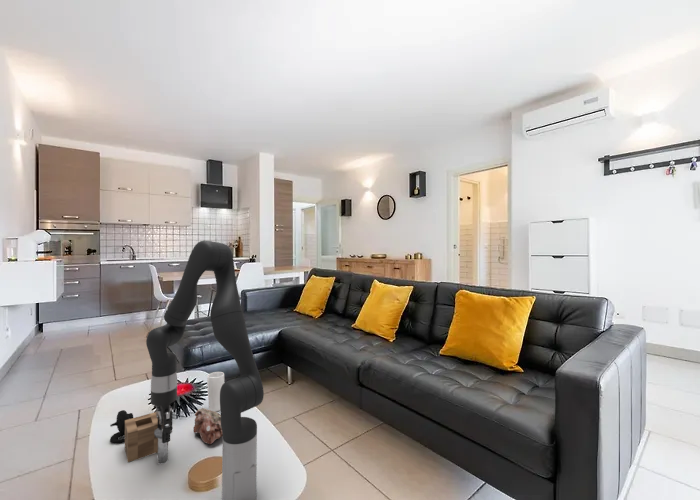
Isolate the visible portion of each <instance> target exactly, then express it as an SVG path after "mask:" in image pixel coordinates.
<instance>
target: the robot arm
mask: <svg viewBox="0 0 700 500" xmlns="http://www.w3.org/2000/svg"><path fill="white" fill-rule="evenodd" d="M206 271H209V272H213V274H214V279H215V283H216V291H215V295H214V298H213V301H212V304H211V307H210V311H209V314H210V315H209V316H210V322H211V327H212V333H213V335H214V338H215V339H216V341H217V342H218V343H219V345H220V346H222V347H223V348H224V349H225V350H226V351H227V352H228V353H229V355H230V356H231V357H232V358H233V359H234V361H235V362H236V365H237V367H238V370H239V373H240V376H239V377H236V378H233V379H230V380H227V381H224V384H223V385H222V387H221V390H220V410H219V412H220V413H219V414H220V415H221V428H222V433H223V436H222V456H221V457H222V459H221V460H222V461H221V462H222V463H221V465H222V466H221V468H222V469H221V470H222V471H221V474H222V475H221V500H257V482H258V481H257V477H258V476H257V474H258V473H257V472H258V471H257V470H258V469H257V468H258V467H257V464H258V462H257V459H258V457H257V456H258V447H257V446H258V424H257V421H256V420H255V419H253V418H251V417H249V416H248V417H247V416H242V413H244V412H246V411H249V410H251V409H253V408H255V407H257V406H260V405H261V404H262V403H263V401H264V396H265V393H264V385H263V382H262V378H261V374H260V372H259V368H258V365H257V363H256V361H255V357H254V354H253V350H252V345H251V342H250V340H249V334H248V330H247V325H246V320H245V319H246V318H245V315H244V311H243V308H242V304H241V300H240V295H239V289H238V284H237V278H236V270H235V261H234V256H233V252H232V249H231V247H230V246H228V245H227V244H225V243H223V242H218V241H212V240H200V241H198V242H197V243H196V244H195V245H194V247H193V248H192V250H191V252H190V255H189V257H188V260H187V263H186V265H185V269H184V271H183V273H182V276H181V280H180V282H179V286H178V287H177V290H176V292H175V294H174V297H173V298H172V300H171V302H170V304H169V305H168V307H167V309H166V311H165V313H164V315H163V319H164V321H165V323H166V324H165V325H162V326H159V327H158V326H157V327H155V328H152V329H151V330H149V332H148V334H147V336H146V341H145V343H146V347H147V351H148V354H149V358H150V361H151V379H150V404H151V405H152V406H155V412H156V416H157V419H158V427H157V428H159V427H162V443H166V442H168V443H169V442H170V441H171V434H170V431H171V430H172V431H173V413H174V411H173V408H172V406H171V404H172V403H174V402H175V401H176V400H177V399H178V374H177V370H178V369H177V364H178V363H177V362H178V361H177V355H176V354H175V353H173V352H168V348H169V347H171V346H174V345H176V344H178V343H179V342H180V341H181V339H182V338H183V335H184V333H185V330H186V326H187V322H188V320H189V318H190V317H191V315H192V313H193V311H194V310H195V308H196V305H197V302H198V283H199V280H200V278H201V277H202V276H203V275H204V273H205V272H206ZM165 426H168V427H165Z"/></svg>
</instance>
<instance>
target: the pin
mask: <svg viewBox="0 0 700 500" xmlns="http://www.w3.org/2000/svg"><path fill="white" fill-rule="evenodd" d="M168 426H169V425H165V427H168ZM172 433H173V429H172V430H171V431H170V435H171V434H172ZM154 437H156V438H158V452H157V464H159V465H162V464H165V463H167V462H168V461H169V442H166V443H162V427H159V428H157V429H156V430H155V431H154Z"/></svg>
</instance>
